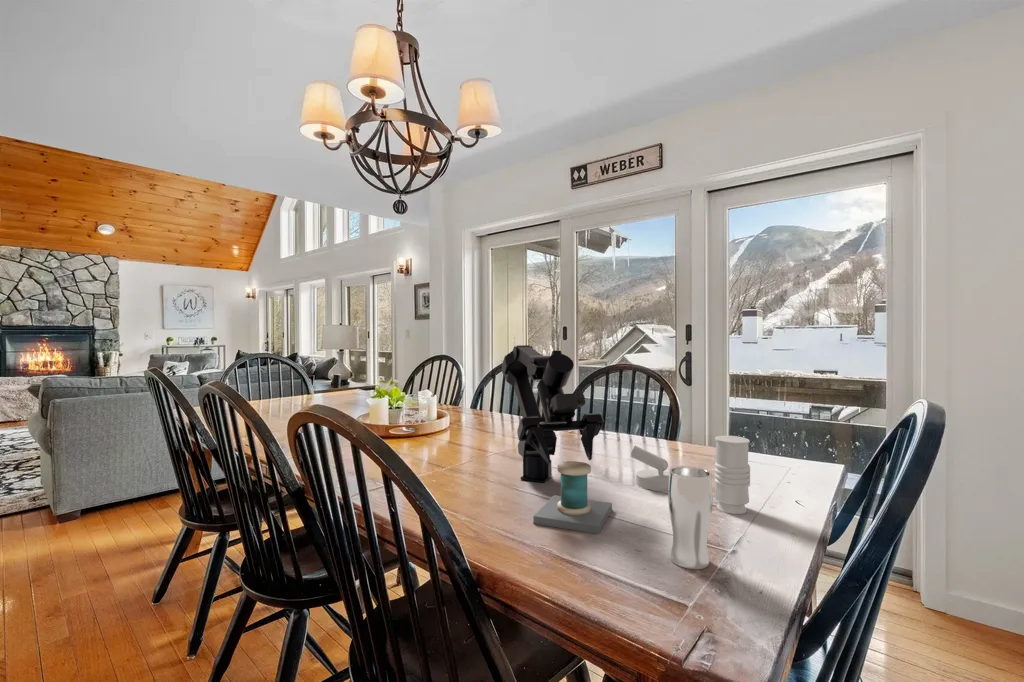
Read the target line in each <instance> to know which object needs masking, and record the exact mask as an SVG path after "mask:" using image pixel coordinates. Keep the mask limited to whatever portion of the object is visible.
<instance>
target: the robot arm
mask: <svg viewBox="0 0 1024 682" xmlns="http://www.w3.org/2000/svg"><path fill="white" fill-rule="evenodd" d="M574 367H575V366H574V360H573V359H571V358H570V356H568V355H566V354H563V352H562V350H559V349H558V350H552V351H551V353H550V355H543V354H542V353H540V352H539V351H537V350H536V349H534V348H533V346H532V345H527V344H526V345H524V344H523V345H521V344H520V345H518V344H517V345H516V346H515V345H514V346H513V348H512V351H510V352H509V353H507V354H506V355H505V356H504V357H503V361H502V363H501V372H502V375H503V376H504V378H505V381H506V382H507V384H510V385H511V386H512V387H513V389H514V392H515V396H516V399H517V403H518V406H519V409H520V413H521V415H522V417H521V418H520V421H519V423H518V427H517V432H516V433H517V438H518V442H517V452H518V454H519V455H520V456H521V457H522V476H520V480H522V481H529V482H536V483H545V482H546V481H547V480H549V479H550V478H551V477H552V476H553V474H552V470H553V469H552V460H551V456H555V453H556V448H557V439H558V437H557V435H556V432H562V431H565V432H566V431H579V433H580V435H581V437H580V441H581V444H582V447H583V449H584V453H585V455H586V457H587V459H588V461H592V459H593V445H594V444H593V443H594V439H595V437H596V436H598V435H599V434H600V431H601V430H602V428H603V426H604V424H605V420H604V417H603V415H602V414H601V413H598V412H597V413H584V414H583V415H582V418H581V419H580V420H573V419H572V418H574V417H575V416H576V412H575V411H576V410H579V408H583V406H585V405H586V398H585V395H584V392H583V391H582V390H576V391H574V392H573V393H564V390H563V388H564V387H565V386H566V385H567V383H568V381H569V379H570V377H571V374H572V371H573V369H574ZM530 380H532V381H539V382H538V383H537V385H536V389H537V391H536V392H537V393H536V394H537V397H539V401H540V404H541V405H540V406H541V407H542V410H541V412H540V409H539V406H538V403H537V400H536V397H535V394H534V391H533V388H532V384H531V382H530ZM541 415H542V416H541Z"/></svg>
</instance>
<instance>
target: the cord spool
mask: <svg viewBox="0 0 1024 682" xmlns="http://www.w3.org/2000/svg"><path fill="white" fill-rule="evenodd" d="M591 471H592V467H591V464H589V463H586V462H584V461H577V460H576V461H575V460H572V461H571V460H570V461H562V462H559V463H557V472H558V473H559V474H560V496H561V501H559V502H558V503H557V509H558V511H559V512H561V513H563V514H567V515H585V514H588V513H589V512H590V511H591V504H590V503H589V502H587V500H588V475H589V474H591Z"/></svg>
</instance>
